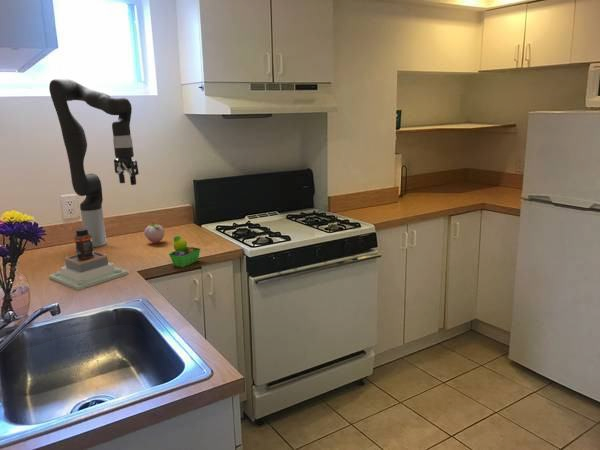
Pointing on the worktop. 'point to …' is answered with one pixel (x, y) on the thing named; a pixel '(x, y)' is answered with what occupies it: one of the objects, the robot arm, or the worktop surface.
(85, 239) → the supplement bottle
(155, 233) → the decorative fruit
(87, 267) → the stacked grey pedestal
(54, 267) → the worktop surface
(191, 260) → the fruit basket
